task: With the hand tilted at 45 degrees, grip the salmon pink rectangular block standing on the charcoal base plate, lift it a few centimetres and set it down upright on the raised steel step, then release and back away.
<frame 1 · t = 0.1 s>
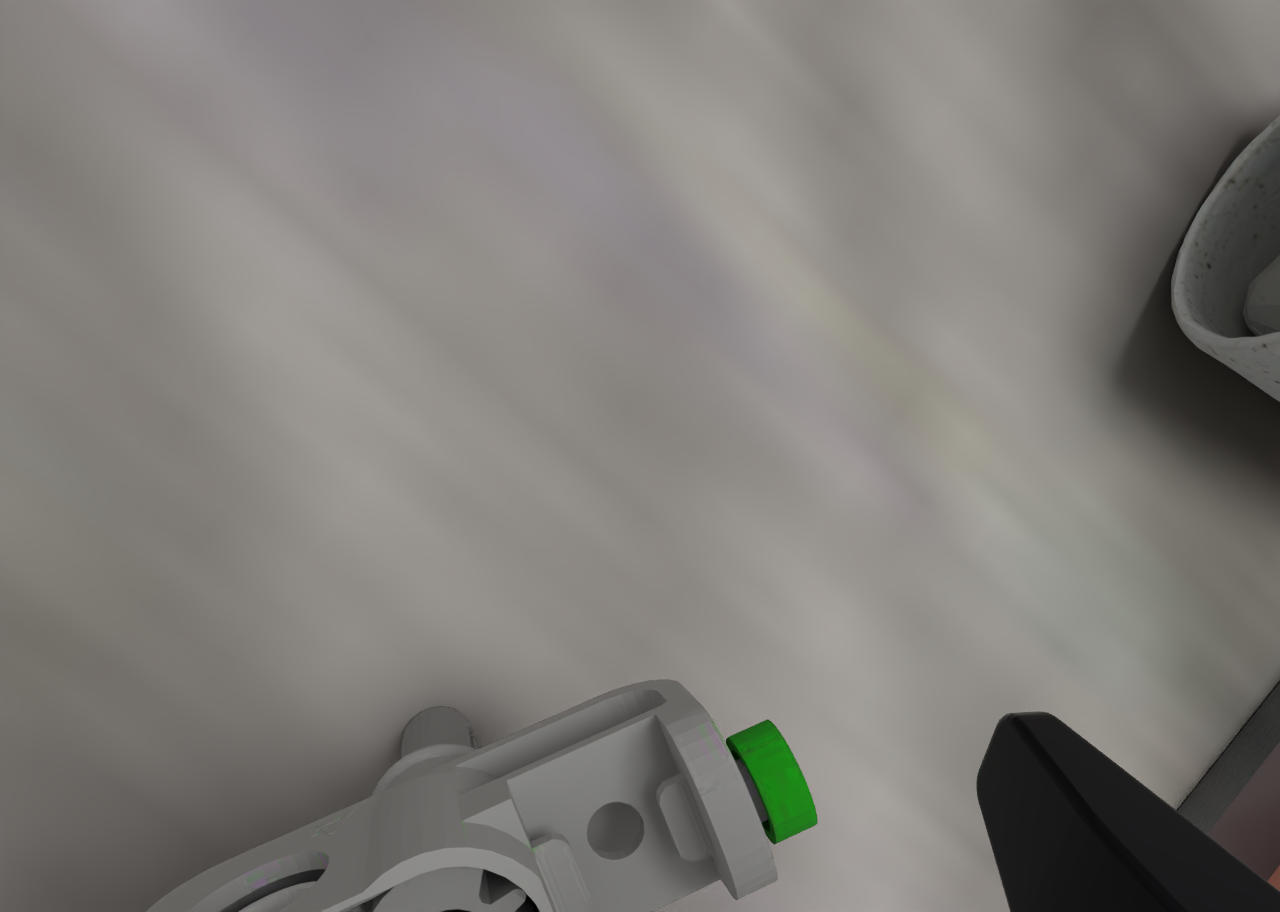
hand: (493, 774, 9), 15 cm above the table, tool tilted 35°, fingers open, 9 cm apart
mechanical component: (438, 741, 24), on the table
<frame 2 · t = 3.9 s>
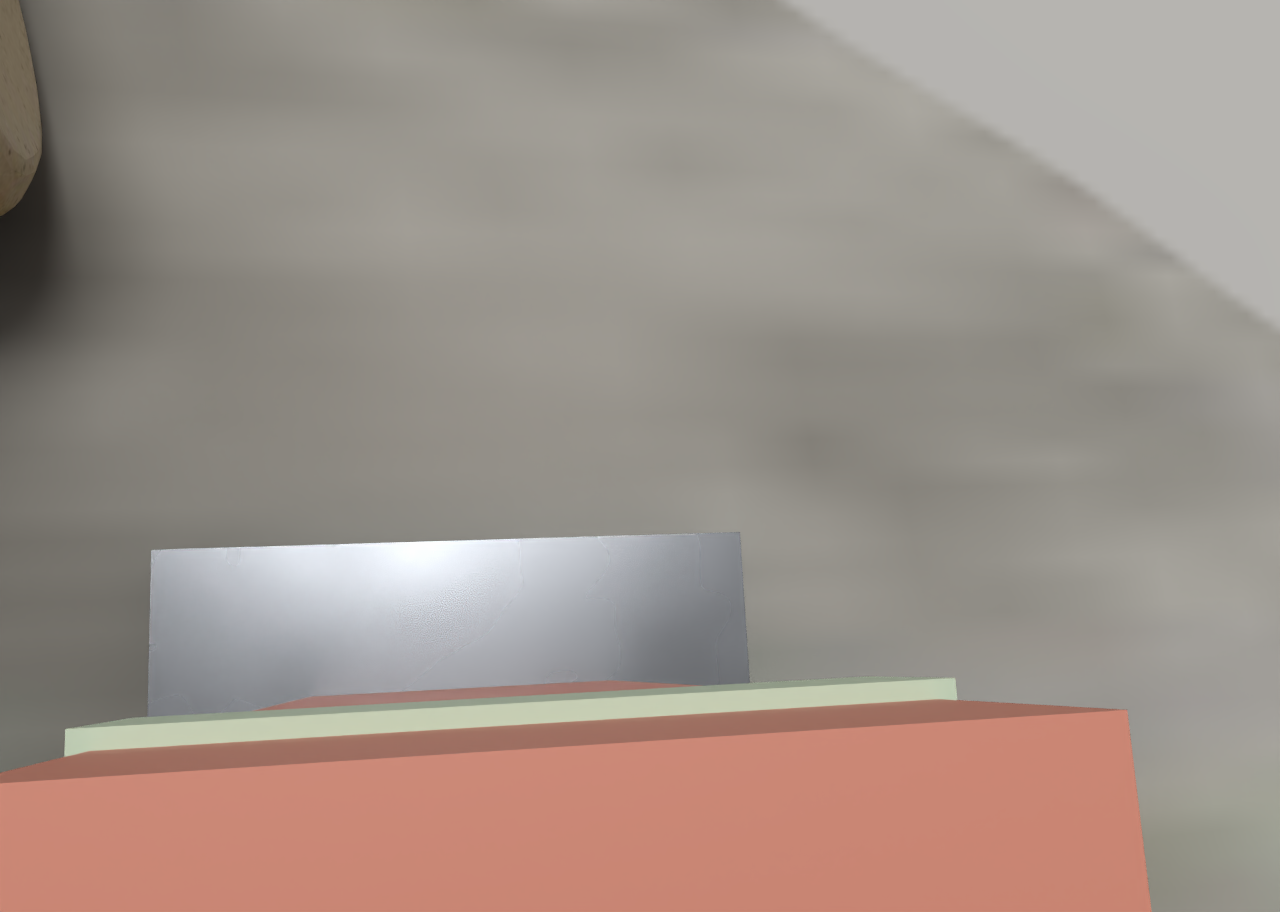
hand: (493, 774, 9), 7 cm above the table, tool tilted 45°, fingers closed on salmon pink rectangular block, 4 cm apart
salmon pink rectangular block: (467, 842, 15), point 1 cm above the table, touching gripper, stand base
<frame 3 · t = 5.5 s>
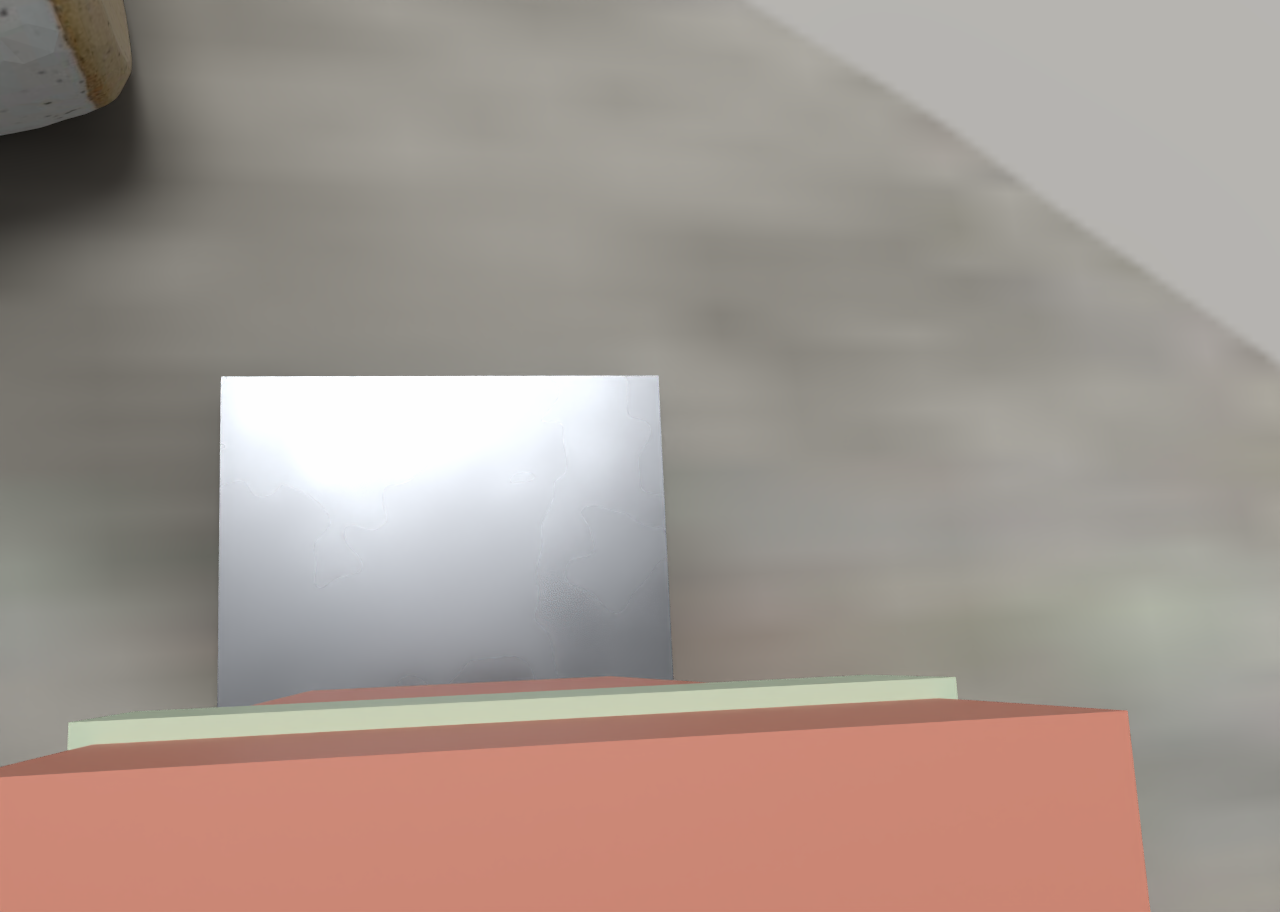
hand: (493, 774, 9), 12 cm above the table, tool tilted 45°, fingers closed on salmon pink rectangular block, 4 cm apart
salmon pink rectangular block: (467, 837, 15), point 6 cm above the table, touching gripper
stand base: (454, 812, 21), on the table
when the fingers open (11 cm above the table, at t = 6.8 s): salmon pink rectangular block stays where it is, resting on stand base.
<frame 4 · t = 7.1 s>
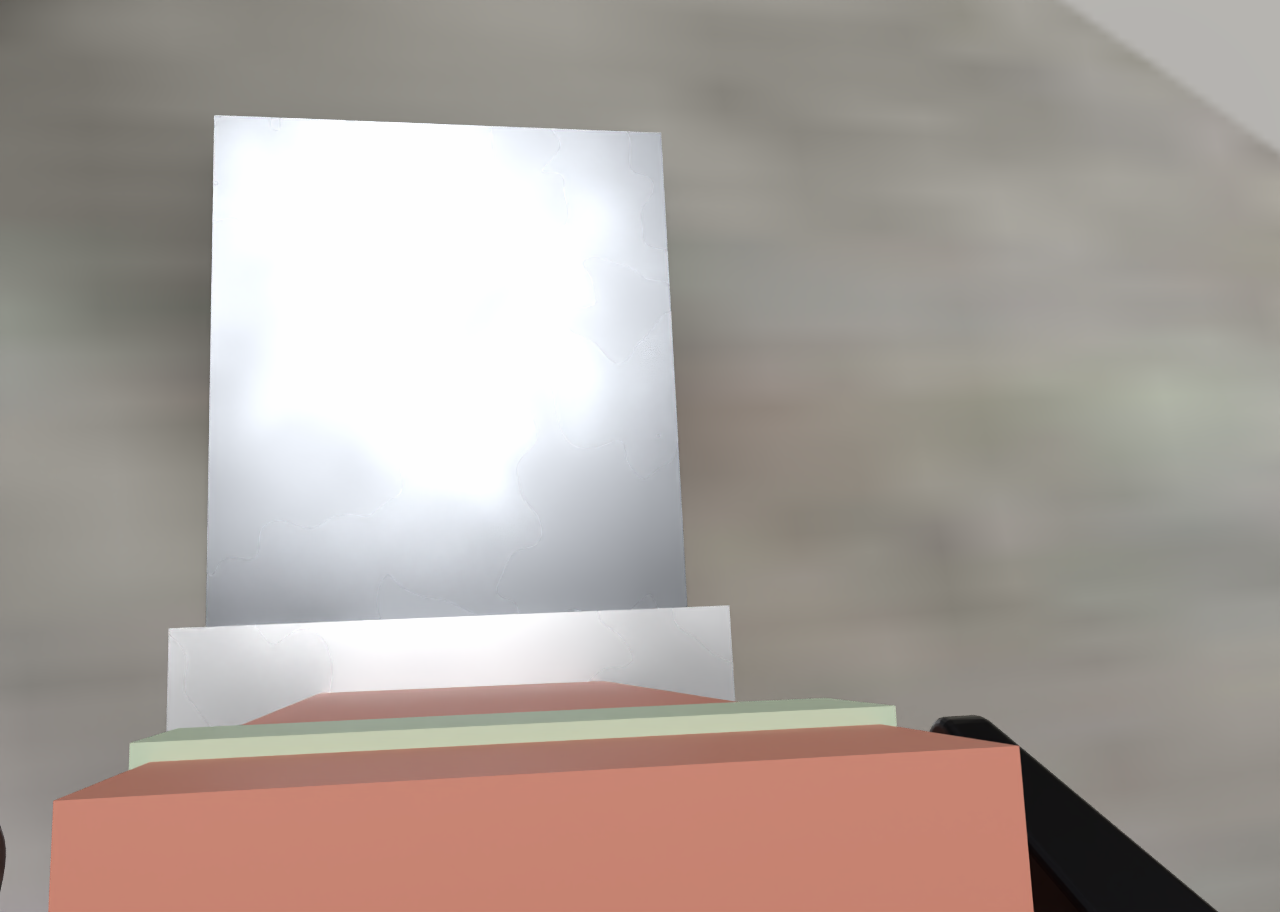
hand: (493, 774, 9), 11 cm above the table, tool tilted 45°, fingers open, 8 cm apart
salmon pink rectangular block: (467, 832, 16), point 4 cm above the table, touching stand base
stand base: (453, 570, 21), on the table
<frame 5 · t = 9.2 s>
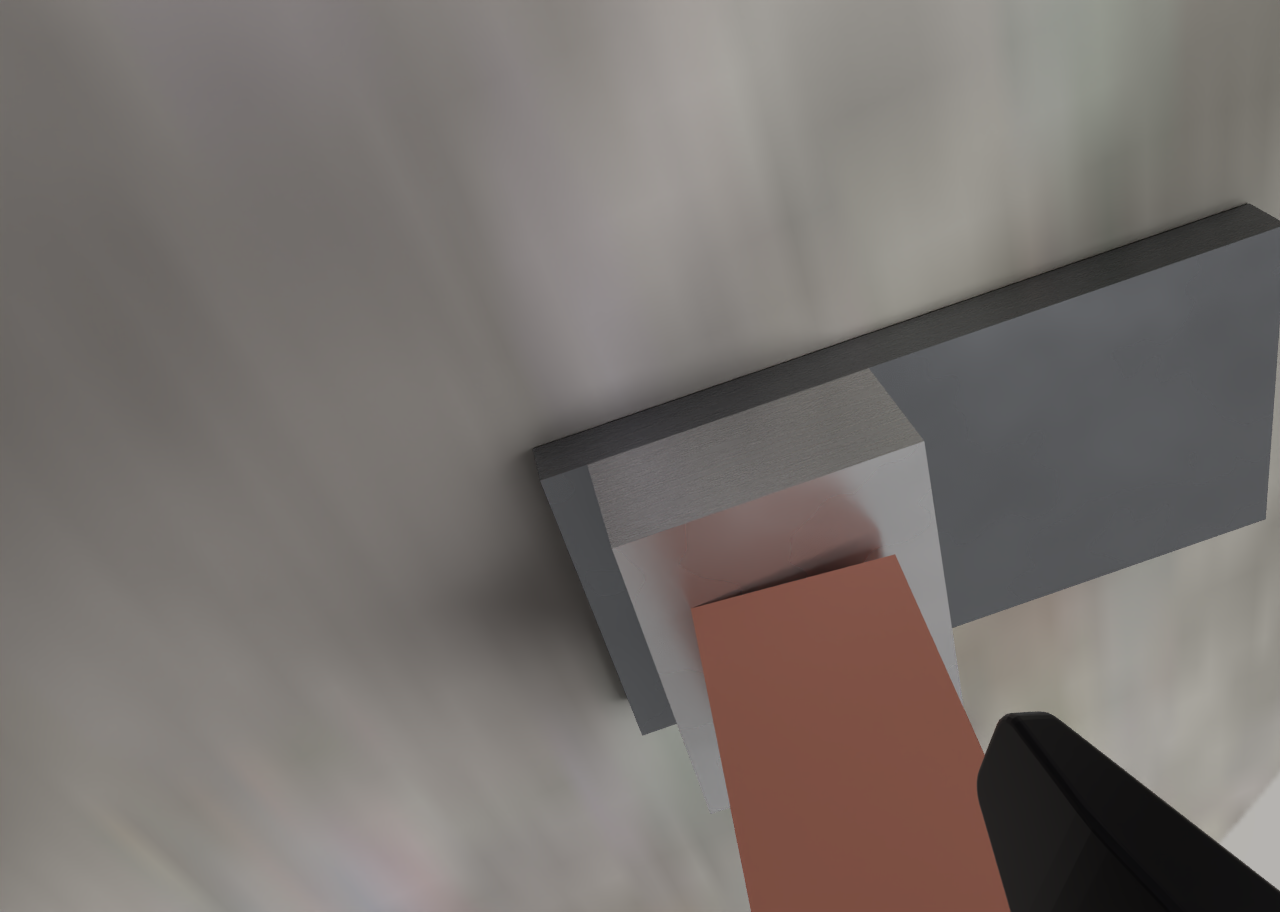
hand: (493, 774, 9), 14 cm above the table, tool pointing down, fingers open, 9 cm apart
salmon pink rectangular block: (810, 654, 23), point 4 cm above the table, tilted 6°, touching stand base
stand base: (915, 472, 26), on the table
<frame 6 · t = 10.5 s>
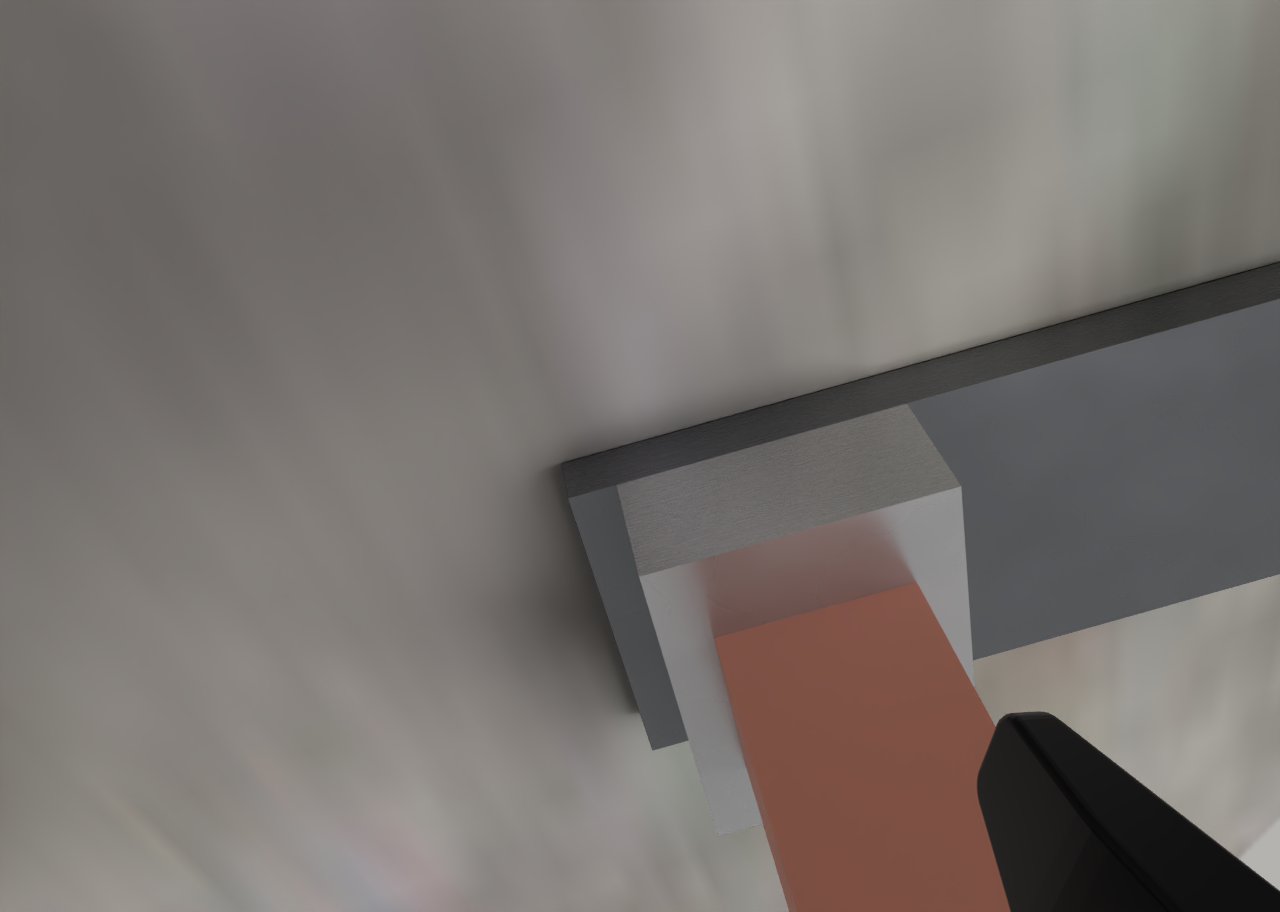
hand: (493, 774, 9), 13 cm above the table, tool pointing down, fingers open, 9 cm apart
salmon pink rectangular block: (827, 680, 23), point 4 cm above the table, touching stand base
stand base: (944, 504, 26), on the table
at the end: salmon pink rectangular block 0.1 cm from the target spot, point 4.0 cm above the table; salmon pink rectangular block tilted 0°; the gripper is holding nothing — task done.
